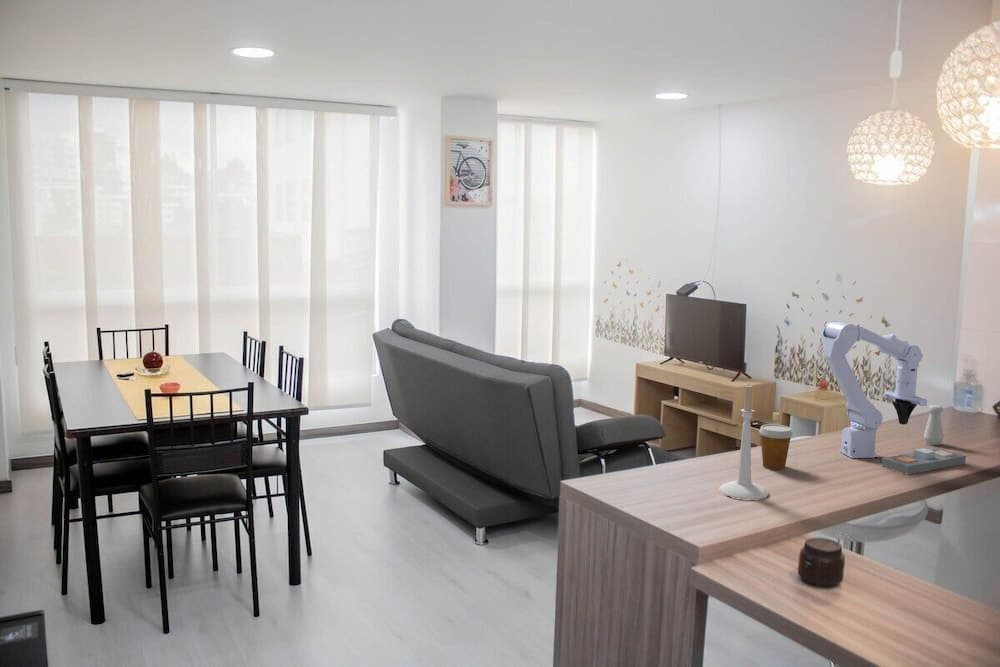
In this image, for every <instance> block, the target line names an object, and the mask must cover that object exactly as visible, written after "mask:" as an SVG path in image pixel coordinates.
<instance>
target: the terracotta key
mask: <svg viewBox="0 0 1000 667" xmlns="http://www.w3.org/2000/svg"><path fill="white" fill-rule="evenodd" d="M895 460H898V461H901V462H904V463H912V462H916V460H915V459H912V458H908V457H905V456H904V457H898V458H895Z"/></svg>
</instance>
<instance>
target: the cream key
mask: <svg viewBox="0 0 1000 667" xmlns="http://www.w3.org/2000/svg"><path fill="white" fill-rule="evenodd" d="M935 454H936V455H939V456H943V457H947V456H952V455H953V454H952V453H949V452H945V451H942V450H940V451H935Z"/></svg>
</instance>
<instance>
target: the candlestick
mask: <svg viewBox="0 0 1000 667" xmlns="http://www.w3.org/2000/svg"><path fill="white" fill-rule="evenodd" d="M752 407H753V385H750V384H748V385H744V397H743V408H742V409H740V412H741V413H742V414H741V416H742V418H743V422H742V431H741V433H742V434H741V442H740V451H739V459H738V460H739V462H738V472H737V479H736V480H731V481H728V482H725V483H723V484H721V485H720V486H719V487H718V488H719V489H718V490H720V491H721V492H722V493H724V494H725V495H727V496H730V497H734V498H740V499H750V500H755V501H757V500H756V499H762V500H764V499H763V498H765V499H767V498H768V497H769V491H768V490H767V489H766V487H764V486H763V485H760V484H758V483H756V482H753V481H752V446H751V445H752V440H751V439H752V438H751V437H752V436H751V434H752V433H751V431H752V430H751V429H752V428H751V427H752V426H751V425H752V424H751V419H752V418H753V413H755V410H754V409H752ZM727 496H726V497H727ZM767 496H768V497H767ZM766 497H767V498H766Z"/></svg>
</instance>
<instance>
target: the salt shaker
mask: <svg viewBox="0 0 1000 667" xmlns="http://www.w3.org/2000/svg"><path fill="white" fill-rule="evenodd" d="M927 408H928V412H929V416H928V419H927V423H926V426H925V431H924V432H923V433H924V434H923V438H924V439H923V440H924V441H925V444H926V445H928V444H930V445H929V446H933V445H939V446H940V445H941V443H942V442H943V441H944V434H943V433H944V432H943V424H942V423H943V422H942V414H943V413H944V409H943V408H944V407H943V406H942V405H939V404H930V405H929V406H928V407H927Z"/></svg>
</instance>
